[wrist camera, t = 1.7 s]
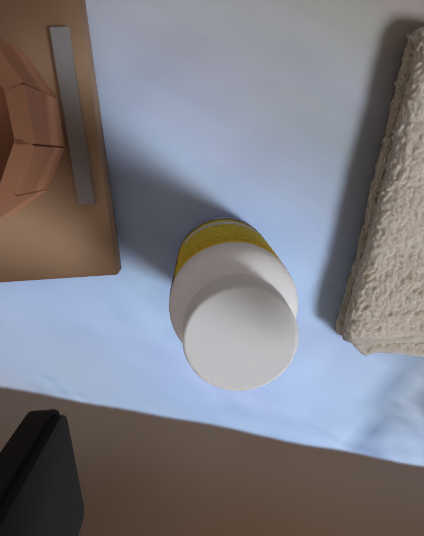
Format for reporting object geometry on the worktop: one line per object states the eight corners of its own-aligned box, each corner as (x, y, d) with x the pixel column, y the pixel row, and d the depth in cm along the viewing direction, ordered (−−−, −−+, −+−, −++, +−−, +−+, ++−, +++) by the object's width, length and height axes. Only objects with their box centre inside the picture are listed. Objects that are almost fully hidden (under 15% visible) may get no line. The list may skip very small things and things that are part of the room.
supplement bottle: (162, 237, 21) (134, 301, 12) (249, 201, 21) (293, 237, 11) (198, 316, 23) (199, 428, 13) (280, 284, 22) (341, 376, 13)
